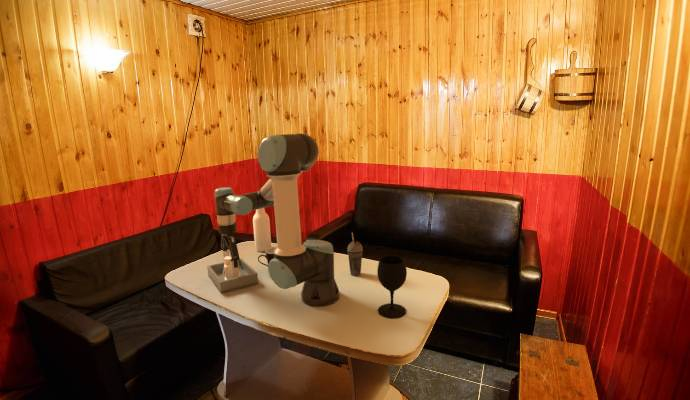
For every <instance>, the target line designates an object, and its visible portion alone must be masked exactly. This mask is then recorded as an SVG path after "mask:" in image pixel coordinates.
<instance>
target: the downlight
mask: <svg viewBox="0 0 690 400" xmlns="http://www.w3.org/2000/svg"><path fill="white" fill-rule="evenodd" d="M229 255H230V256H226V257H225V258H224V260H225V265H224V269H225V276H226V277H225V278H224V276H223V278H224V279H225V280H228V279H232V278H236V277H240V276H241V275H240V271H239V274H235V275H233V272H232V262H231V261H230V260H231V259H232V258H231V254H229ZM224 260H223V261H224ZM240 270H241V267H240ZM223 275H224V270H223Z"/></svg>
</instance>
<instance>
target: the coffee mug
mask: <svg viewBox="0 0 690 400" xmlns="http://www.w3.org/2000/svg"><path fill="white" fill-rule="evenodd" d="M275 248H276V247H271V248H270V249H267V250H266V251H265V252H264V253H265V254H261V255H258V257H257V262H259V264H261V265H264V266H266V267H268V264H269V262H270V261H271V260H272V259H274V249H275ZM260 257H265V259H266V262H267V264H266V263H264V262H262V261H261V260H260Z"/></svg>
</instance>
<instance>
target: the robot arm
mask: <svg viewBox="0 0 690 400" xmlns="http://www.w3.org/2000/svg"><path fill="white" fill-rule="evenodd" d="M318 145H319V144H318V143H317V142H316V140H315V139H314V138H313V137H312V136H310V135H309V134H306V133H301V132H300V133H288V134H274V135H269V136H266V137H265V138H263V139H262V141H261V142H260V144H259V146H258V150H257V160H258V164H259V165H260V168H261V169H262V170H263V171H265V172H266V177H268V180H267V181H266V182H265V184H264V185H263V186H262V187H261V188H260V189H259V190H258V191H252V192H248V193H242V194H234V191H233V188H232V187H228V186H227V187H225V186H224V187H218V188H216V189H215V190H214V201H215V203H214V204H215V211H216V217H217V218H216V220H217V221H216V222H217V224H218V225H217V228H218V233H219V234H220V235H221V237H220V238H221V239H220V249H221V251H222V258H223V262H224V265H225V260H224V258H225V257H226V256H230V255H231V258H232V259H231V260H230V261H231V262H232V272H233V275H235V274H239V264H238V260H239V259H240V258H241V257H240V255H239V254H240V253H239V249H238V245H237V242H236V240H237V239H236V236H234V235H233V234H234V233H236V232H237V223H236V217H237V215H238V216H240V215H241V216H246V215H248V214H249V213H251V212H252V211H256V209H261V208H264V209H265V208H271V207H272V206H273V210H274V220H275V221H274V223H275V234H276V247H274V248H275V249H274V259H272V260H271V261H270V262H269V264H268V263H267V265H268V266H267V270H268V274H269V276H270V279H271V280H272V282H273V283H274V284H275V285H276V286H277V287H278V288H280V289H283V290H287V289H291V288H294V287H296V286H298V285H300V284H302V283H303V285H302V289H301V292H300V293H301V294H300V295H301V297H300V298H301V301H302V303H304V304H306V305H308V306H312V307H325V306H329V305H332V304H334V303H336V302H337V301H338V300H339V299H340V290H339V287H338V284H337V282H336V279H335V255H334V254H335V252H334V246H333V244H332V243H331V242H329V241H326V240H322V239H320V240H319V239H312V240H306V241H304V242H303V243H302V232H301V230H302V229H301V219H300V217H301V216H300V204H299V203H300V202H299V189H298V177H300V176H301V174H302V173H303V172H307V171H309V170H310V169H311V168H312V167H313V166H314V165H315V164H316V162H317V161H318V158H319V154H320V151H319V150H320V149H319V146H318Z"/></svg>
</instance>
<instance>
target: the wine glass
mask: <svg viewBox="0 0 690 400" xmlns="http://www.w3.org/2000/svg"><path fill="white" fill-rule="evenodd" d="M376 270H377V279H378V281H379V283H380V284H381V286H383V288H384V289H385V290H387V291H389V294H390V296H389V297H390V302H389V303H384V304H382V305H379V306H378V309H377V312H378V315H380V316H381V317H383V318H387V319H400V318H402V317H404V316H405V315H406V314H407V309H406V308H405V307H404V305H401V304H398V303H394V295H395V294H394V293H395V292H396V291H398V290H400V288H402V286H403V285H404V284H405V283H406V279H407V275H408V273H407V271H408V270H407V265H406V261H405V259H404V258H403V257H401V256H400V255H399V256H398V255H385V256H382V257H380V258H379V261H378V264H377V269H376Z"/></svg>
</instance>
